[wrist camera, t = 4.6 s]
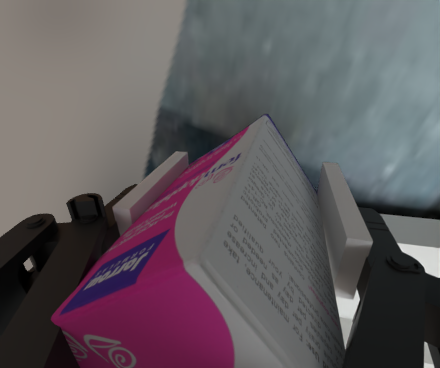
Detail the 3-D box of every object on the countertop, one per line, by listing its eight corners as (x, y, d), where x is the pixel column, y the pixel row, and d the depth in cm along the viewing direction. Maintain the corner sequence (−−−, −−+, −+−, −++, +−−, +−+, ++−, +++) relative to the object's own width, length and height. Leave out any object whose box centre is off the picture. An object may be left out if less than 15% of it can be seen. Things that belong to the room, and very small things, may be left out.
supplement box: (265, 107, 13) (201, 262, 3) (318, 192, 15) (383, 474, 5) (186, 160, 16) (19, 336, 6) (238, 228, 17) (174, 460, 7)
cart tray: (260, 288, 30) (255, 335, 25) (268, 192, 24) (265, 227, 19) (444, 319, 26) (483, 382, 21) (506, 214, 20) (580, 265, 15)
